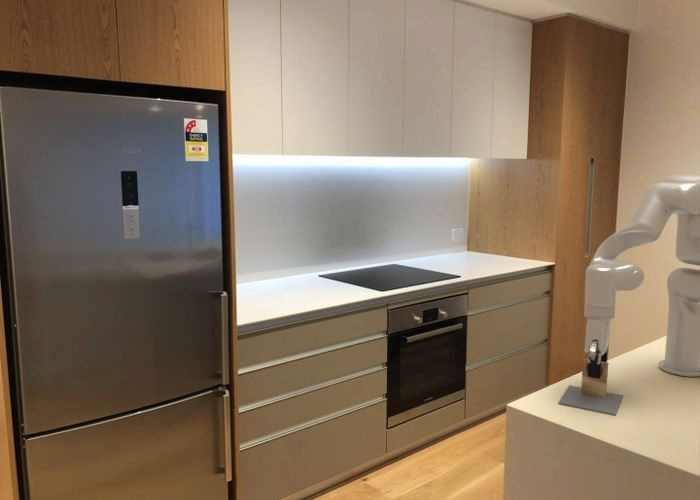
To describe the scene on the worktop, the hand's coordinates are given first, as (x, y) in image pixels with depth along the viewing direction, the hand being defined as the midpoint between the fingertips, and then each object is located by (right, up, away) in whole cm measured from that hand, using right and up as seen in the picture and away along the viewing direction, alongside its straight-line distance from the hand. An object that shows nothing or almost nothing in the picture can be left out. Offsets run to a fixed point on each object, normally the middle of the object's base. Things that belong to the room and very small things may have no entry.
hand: (597, 371), depth 160 cm
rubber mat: (-3, -7, -3) cm, 8 cm away
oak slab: (-1, -6, +1) cm, 6 cm away
